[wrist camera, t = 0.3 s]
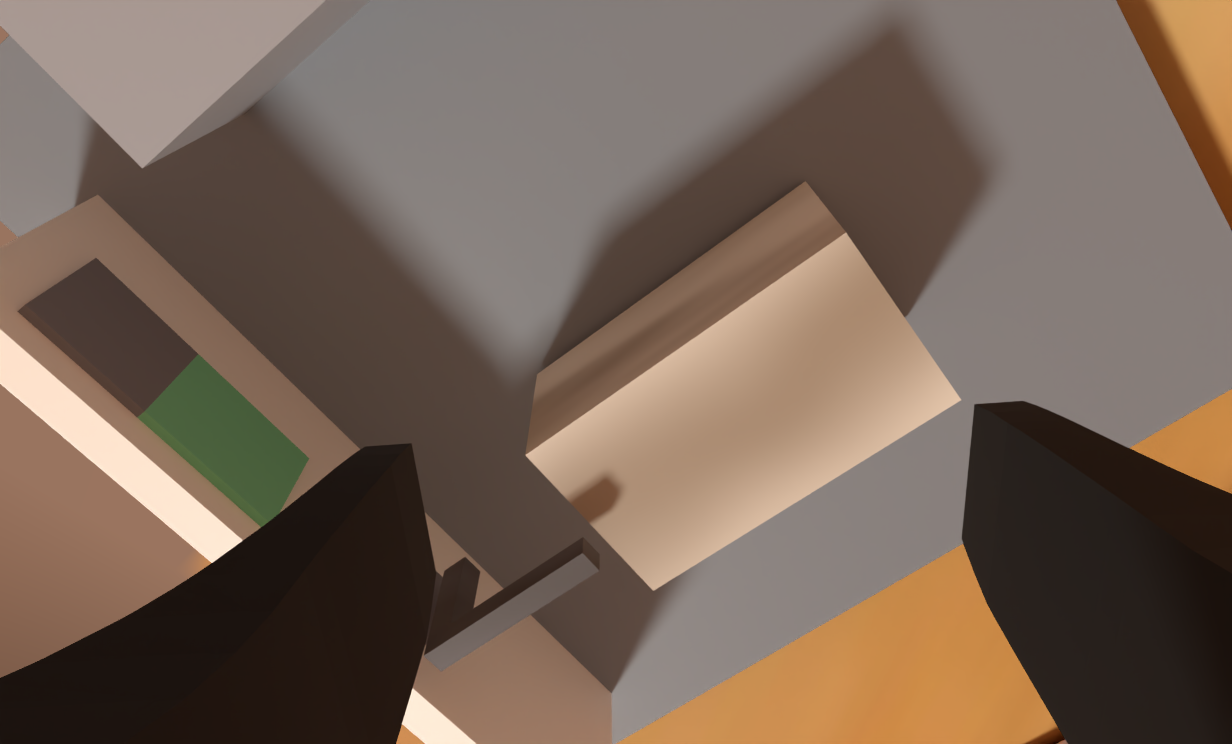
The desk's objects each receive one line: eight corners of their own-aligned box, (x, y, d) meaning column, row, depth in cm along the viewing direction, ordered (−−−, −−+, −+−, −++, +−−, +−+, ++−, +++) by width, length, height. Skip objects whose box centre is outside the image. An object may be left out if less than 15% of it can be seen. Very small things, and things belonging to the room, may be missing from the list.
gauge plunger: (905, 325, 20) (984, 430, 16) (518, 578, 23) (499, 724, 19) (805, 180, 19) (863, 253, 15) (406, 468, 22) (359, 598, 18)
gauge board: (1264, 335, 22) (1482, 471, 16) (587, 731, 27) (583, 935, 22) (742, -686, 14) (826, -1050, 9) (-58, 127, 19) (-314, 205, 14)
